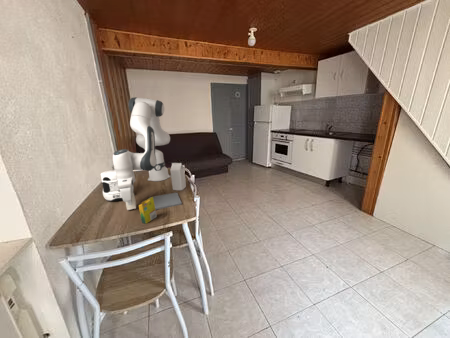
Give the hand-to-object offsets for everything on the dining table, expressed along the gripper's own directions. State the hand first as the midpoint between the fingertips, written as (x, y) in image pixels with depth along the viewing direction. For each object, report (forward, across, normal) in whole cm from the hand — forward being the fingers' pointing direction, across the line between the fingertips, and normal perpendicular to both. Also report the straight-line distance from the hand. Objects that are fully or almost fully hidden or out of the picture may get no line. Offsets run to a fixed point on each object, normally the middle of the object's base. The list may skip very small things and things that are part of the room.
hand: (130, 202), depth 107 cm
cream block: (+3, 0, 0) cm, 3 cm away
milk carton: (+5, -20, +30) cm, 36 cm away
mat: (+4, -2, +18) cm, 19 cm away
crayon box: (+4, +17, +9) cm, 20 cm away
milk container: (+5, -23, -9) cm, 25 cm away
